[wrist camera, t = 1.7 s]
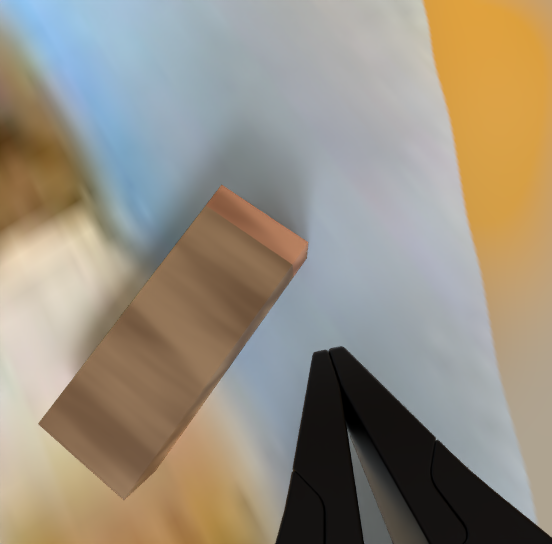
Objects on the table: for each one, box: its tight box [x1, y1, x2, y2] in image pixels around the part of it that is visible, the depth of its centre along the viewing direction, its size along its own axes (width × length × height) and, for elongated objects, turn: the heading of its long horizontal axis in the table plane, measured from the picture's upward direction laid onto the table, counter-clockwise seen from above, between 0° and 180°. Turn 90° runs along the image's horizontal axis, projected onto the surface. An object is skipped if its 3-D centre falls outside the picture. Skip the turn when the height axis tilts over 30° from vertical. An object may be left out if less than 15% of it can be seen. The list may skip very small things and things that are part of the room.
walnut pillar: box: [38, 185, 308, 500], centre depth 21 cm, size 4×6×16 cm
